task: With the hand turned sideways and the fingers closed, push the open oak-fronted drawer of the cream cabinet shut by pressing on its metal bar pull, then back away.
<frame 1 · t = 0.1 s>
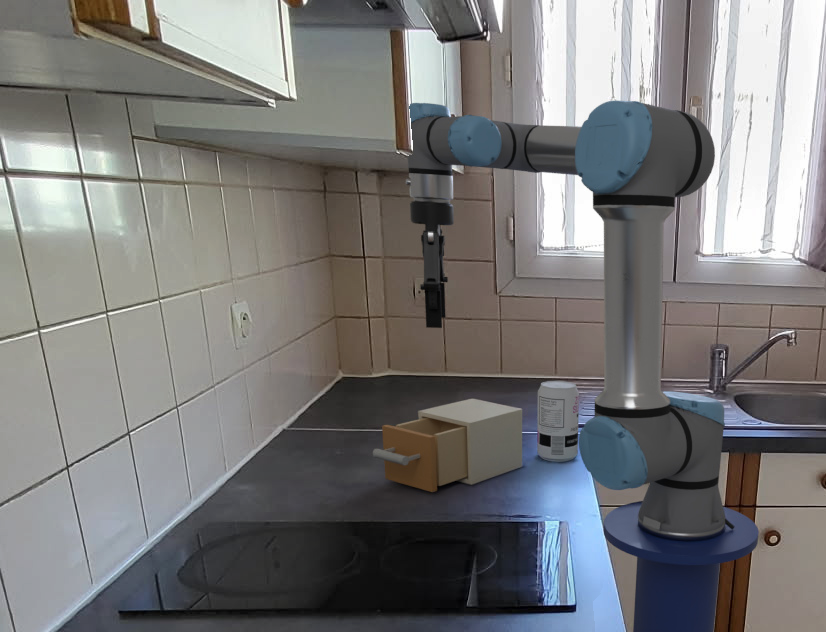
hand: (436, 322, 155), 26 cm above the counter, tool pointing down, fingers open, 13 cm apart
drawer: (426, 453, 147), point 6 cm above the counter, slide at 8.0 cm
supplement can: (557, 457, 170), on the counter
cabinet: (472, 469, 159), on the counter
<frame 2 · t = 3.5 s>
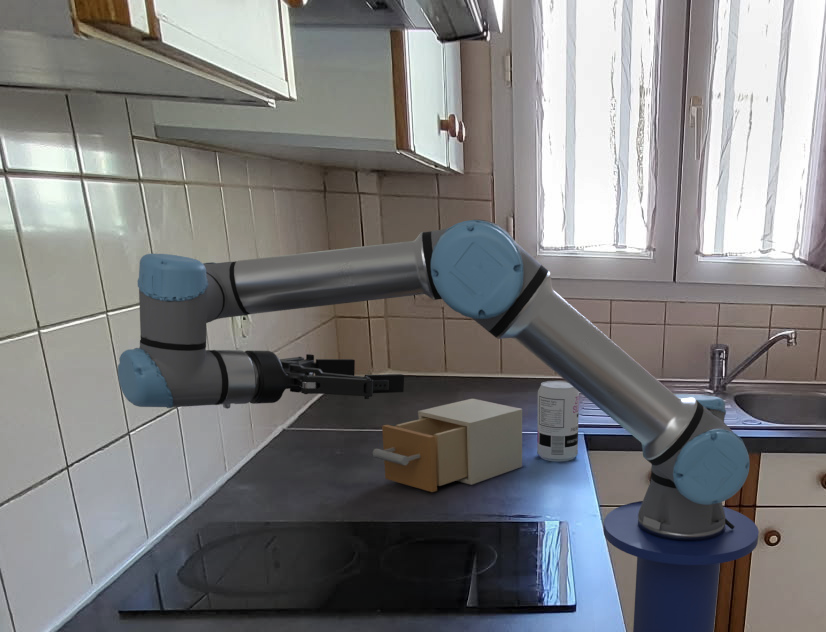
hand: (377, 375, 134), 21 cm above the counter, tool horizontal, fingers open, 13 cm apart
nothing on the counter moved.
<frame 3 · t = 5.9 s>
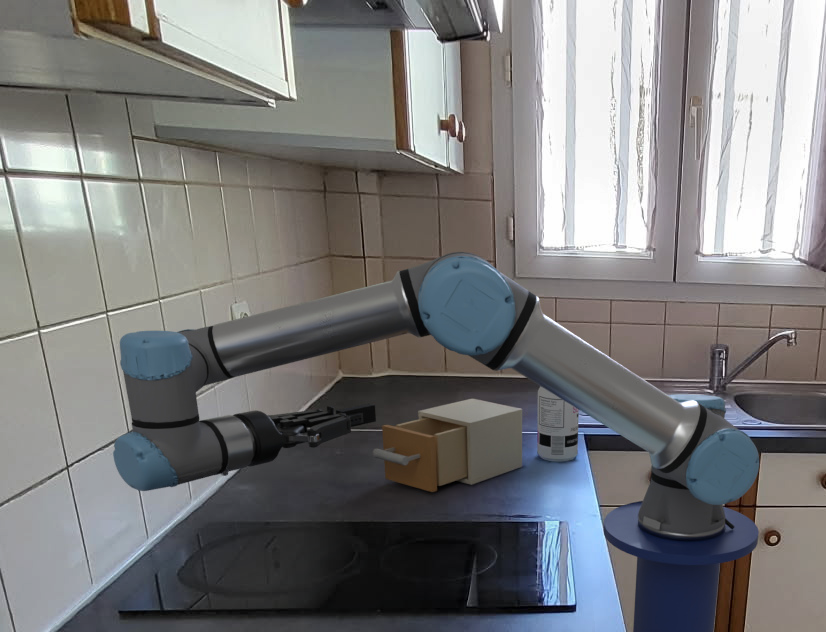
hand: (372, 412, 135), 15 cm above the counter, tool horizontal, fingers closed
nothing on the counter moved.
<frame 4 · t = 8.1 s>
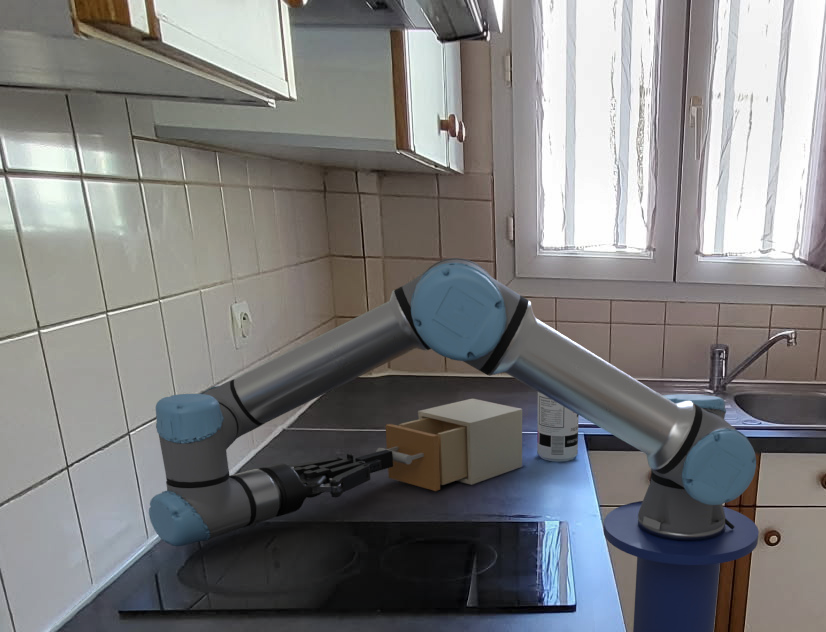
hand: (389, 458, 140), 7 cm above the counter, tool horizontal, fingers closed
drawer: (429, 452, 148), point 6 cm above the counter, slide at 7.2 cm, touching gripper
everything else where it was.
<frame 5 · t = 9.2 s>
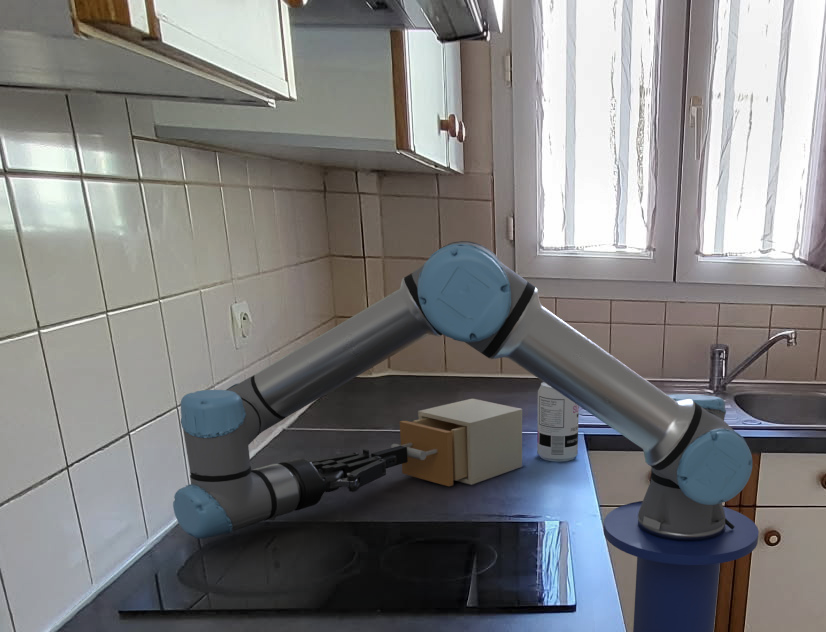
hand: (404, 453, 143), 7 cm above the counter, tool horizontal, fingers closed
drawer: (442, 448, 151), point 6 cm above the counter, slide at 3.9 cm, touching gripper
everything else where it was.
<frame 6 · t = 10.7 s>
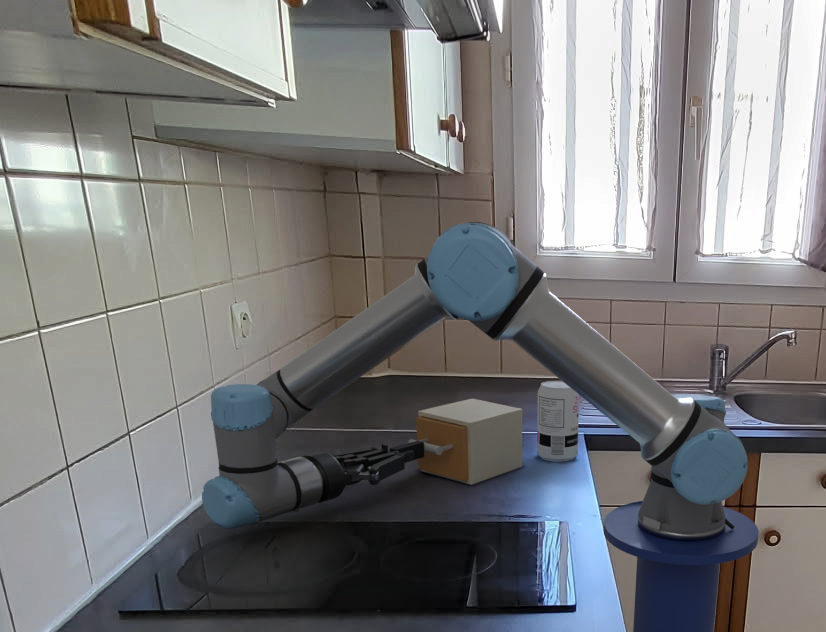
hand: (420, 448, 146), 7 cm above the counter, tool horizontal, fingers closed
drawer: (457, 444, 154), point 6 cm above the counter, slide at 0.0 cm, touching cabinet, gripper
everything else where it was.
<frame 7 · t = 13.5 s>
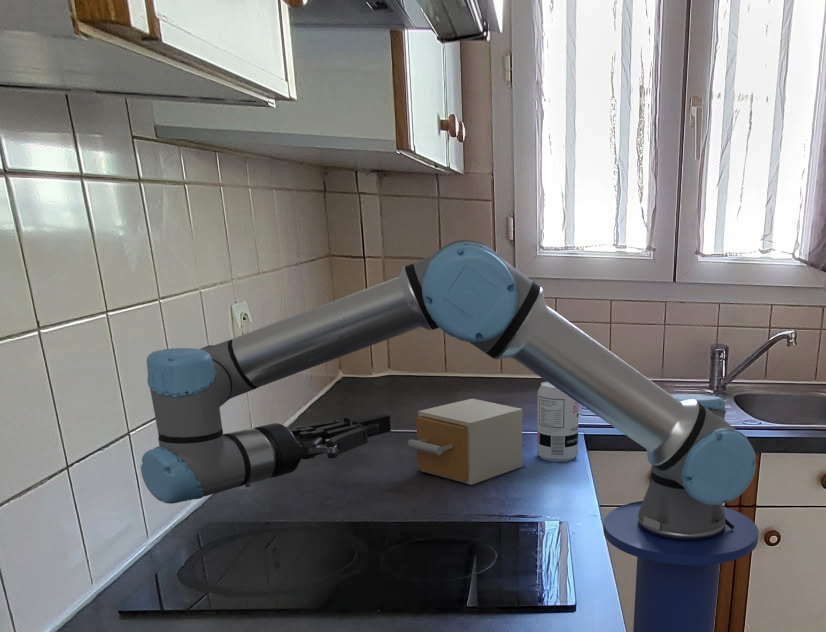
hand: (387, 422, 138), 13 cm above the counter, tool horizontal, fingers closed
drawer: (457, 444, 154), point 6 cm above the counter, slide at 0.0 cm, touching cabinet
everything else where it was.
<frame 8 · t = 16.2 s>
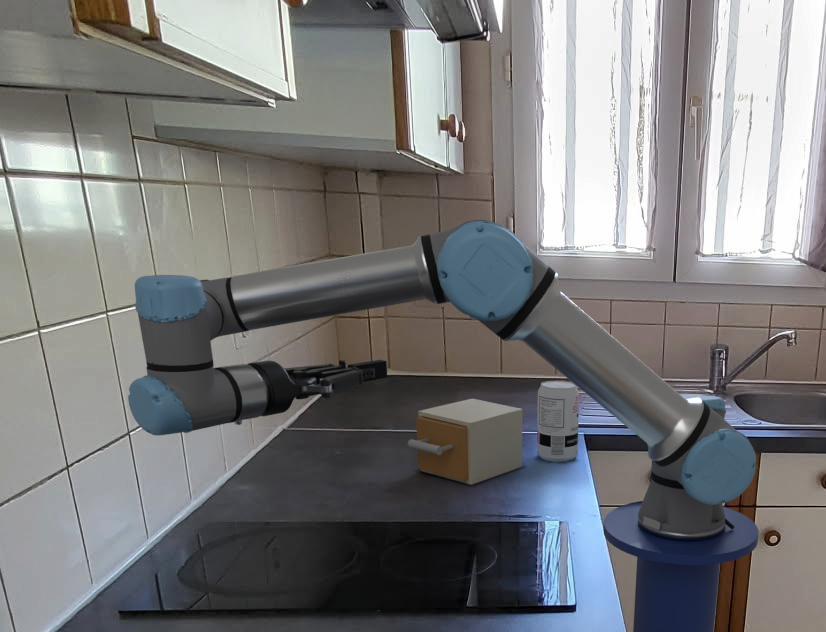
hand: (383, 368, 135), 22 cm above the counter, tool horizontal, fingers closed
nothing on the counter moved.
at the end: drawer slide at 0.0 cm; supplement can moved 0.2 cm from its start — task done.
